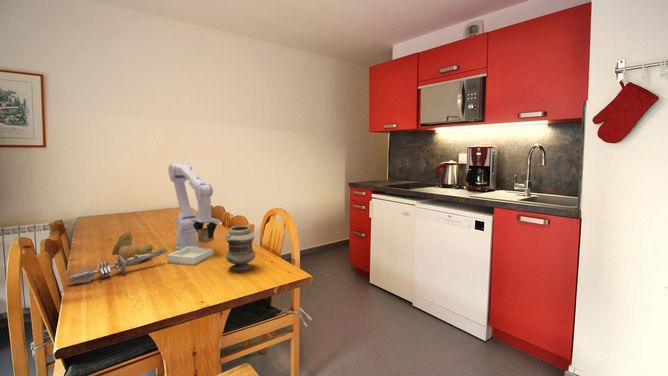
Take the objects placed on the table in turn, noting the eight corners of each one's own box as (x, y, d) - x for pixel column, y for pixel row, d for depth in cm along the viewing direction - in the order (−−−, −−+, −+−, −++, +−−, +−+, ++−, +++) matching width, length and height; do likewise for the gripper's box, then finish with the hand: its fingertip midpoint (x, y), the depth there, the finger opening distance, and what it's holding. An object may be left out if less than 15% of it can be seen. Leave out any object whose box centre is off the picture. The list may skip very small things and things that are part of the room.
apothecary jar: (225, 275, 132) (224, 231, 130) (227, 265, 143) (225, 225, 141) (256, 272, 135) (255, 230, 133) (255, 262, 146) (254, 223, 144)
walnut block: (198, 242, 155) (197, 229, 154) (204, 239, 160) (204, 227, 159) (207, 242, 154) (207, 230, 153) (213, 240, 159) (213, 228, 158)
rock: (113, 252, 154) (135, 245, 161) (107, 237, 156) (130, 231, 163) (112, 260, 162) (134, 253, 168) (107, 245, 164) (129, 239, 170)
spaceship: (170, 248, 142) (162, 238, 146) (69, 278, 117) (64, 266, 121) (170, 262, 145) (163, 252, 150) (72, 295, 120) (67, 282, 125)
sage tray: (167, 262, 146) (167, 255, 146) (188, 253, 160) (188, 246, 159) (194, 265, 143) (193, 257, 142) (213, 255, 156) (213, 248, 156)
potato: (157, 259, 150) (156, 242, 149) (123, 267, 140) (121, 249, 139) (148, 255, 157) (147, 239, 156) (115, 263, 146) (113, 245, 145)
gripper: (185, 210, 153) (187, 238, 154) (212, 212, 149) (214, 241, 151) (195, 208, 160) (196, 235, 161) (221, 209, 156) (222, 237, 158)
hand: (205, 237), depth 157 cm, fingers closed on walnut block, 5 cm apart
